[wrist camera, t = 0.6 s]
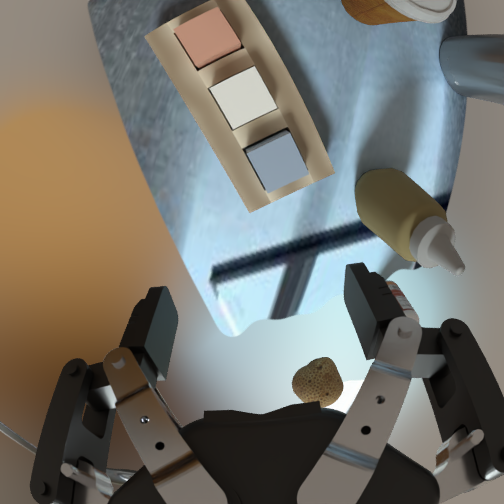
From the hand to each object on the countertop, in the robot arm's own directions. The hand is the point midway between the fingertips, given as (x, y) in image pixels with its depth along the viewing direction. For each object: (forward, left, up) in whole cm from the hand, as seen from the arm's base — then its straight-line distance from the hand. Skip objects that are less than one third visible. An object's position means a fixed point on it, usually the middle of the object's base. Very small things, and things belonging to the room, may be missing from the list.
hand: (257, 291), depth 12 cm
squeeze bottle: (-14, +10, -22) cm, 28 cm away
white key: (-4, -7, -19) cm, 21 cm away
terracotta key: (-4, -14, -19) cm, 24 cm away
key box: (-4, -7, -22) cm, 23 cm away
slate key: (-4, 0, -19) cm, 20 cm away
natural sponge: (+5, +38, -22) cm, 44 cm away
